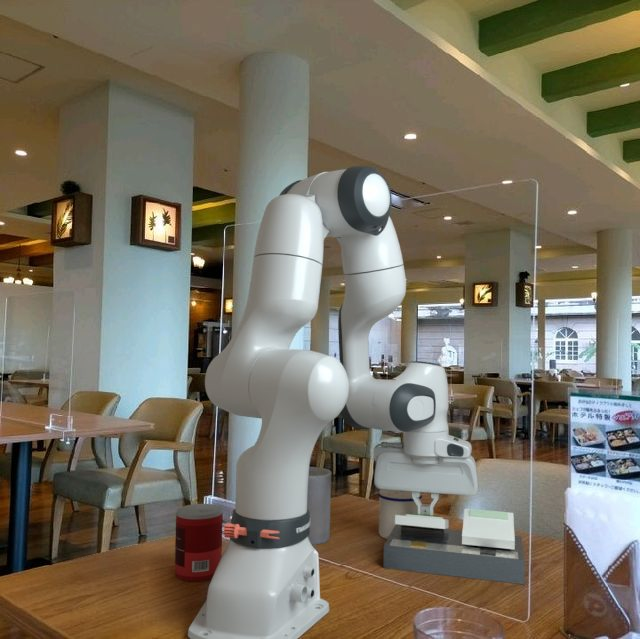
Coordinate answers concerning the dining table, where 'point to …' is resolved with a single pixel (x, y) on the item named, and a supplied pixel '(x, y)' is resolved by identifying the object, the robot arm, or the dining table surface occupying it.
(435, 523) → the rocker
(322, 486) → the pillar candle
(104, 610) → the dining table surface
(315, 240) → the robot arm
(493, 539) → the rocker
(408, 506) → the teacup with lid
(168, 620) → the dining table surface
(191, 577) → the canned food
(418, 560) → the switch unit
